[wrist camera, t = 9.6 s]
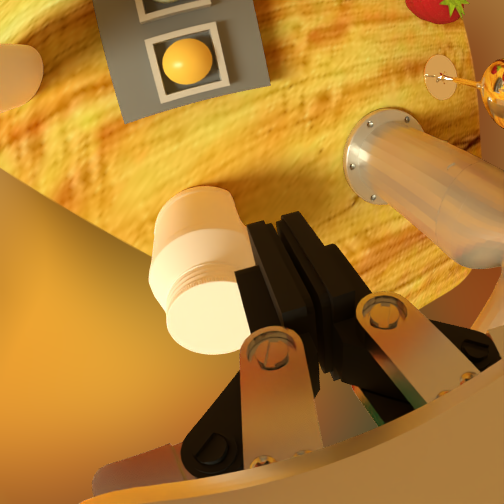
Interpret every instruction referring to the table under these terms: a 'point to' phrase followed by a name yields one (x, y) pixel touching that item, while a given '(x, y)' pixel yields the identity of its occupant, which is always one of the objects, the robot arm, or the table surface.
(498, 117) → the wineglass
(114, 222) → the table surface
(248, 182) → the table surface
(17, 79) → the cylindrical container
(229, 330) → the jar
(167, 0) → the sage button
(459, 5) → the strawberry
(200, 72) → the amber button
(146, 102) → the button panel
